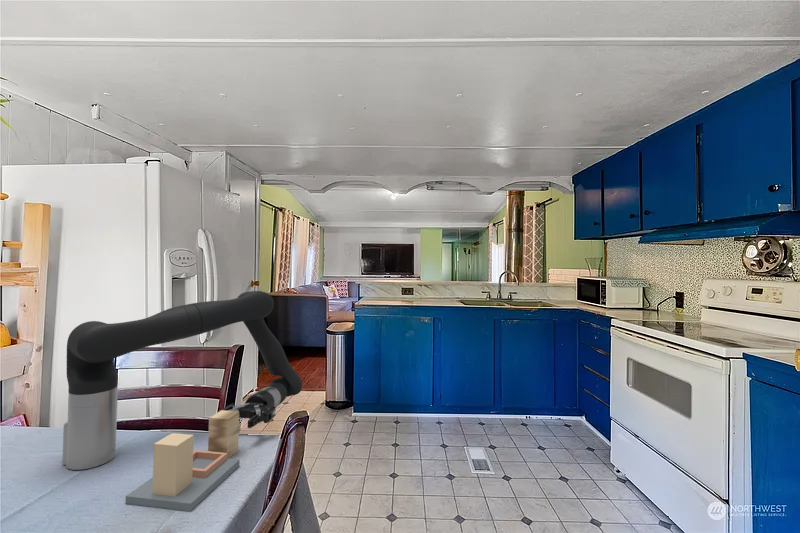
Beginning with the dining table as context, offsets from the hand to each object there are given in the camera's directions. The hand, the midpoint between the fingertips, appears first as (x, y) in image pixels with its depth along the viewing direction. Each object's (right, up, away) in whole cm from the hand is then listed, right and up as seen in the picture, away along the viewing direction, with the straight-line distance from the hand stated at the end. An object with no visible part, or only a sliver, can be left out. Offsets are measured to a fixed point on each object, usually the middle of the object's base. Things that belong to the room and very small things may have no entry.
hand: (233, 423), depth 99 cm
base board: (-2, -6, -17) cm, 19 cm away
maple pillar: (-1, -6, -5) cm, 8 cm away
